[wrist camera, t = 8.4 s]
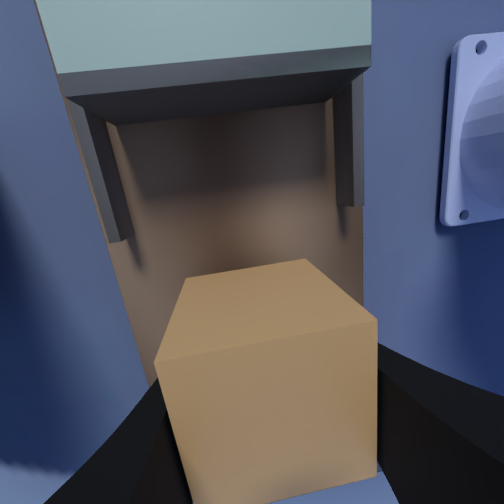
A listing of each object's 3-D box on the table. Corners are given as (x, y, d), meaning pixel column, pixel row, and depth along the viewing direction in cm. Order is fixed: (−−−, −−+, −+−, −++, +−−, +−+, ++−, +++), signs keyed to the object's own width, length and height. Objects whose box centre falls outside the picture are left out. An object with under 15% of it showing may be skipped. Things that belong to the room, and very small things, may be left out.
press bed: (341, -233, 8) (515, -836, 3) (354, 371, 15) (420, 462, 10) (-19, -235, 7) (-494, -1068, 2) (165, 410, 14) (135, 531, 9)
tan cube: (305, 258, 10) (377, 319, 6) (313, 358, 12) (376, 476, 7) (185, 278, 10) (153, 362, 5) (207, 379, 11) (198, 520, 7)
